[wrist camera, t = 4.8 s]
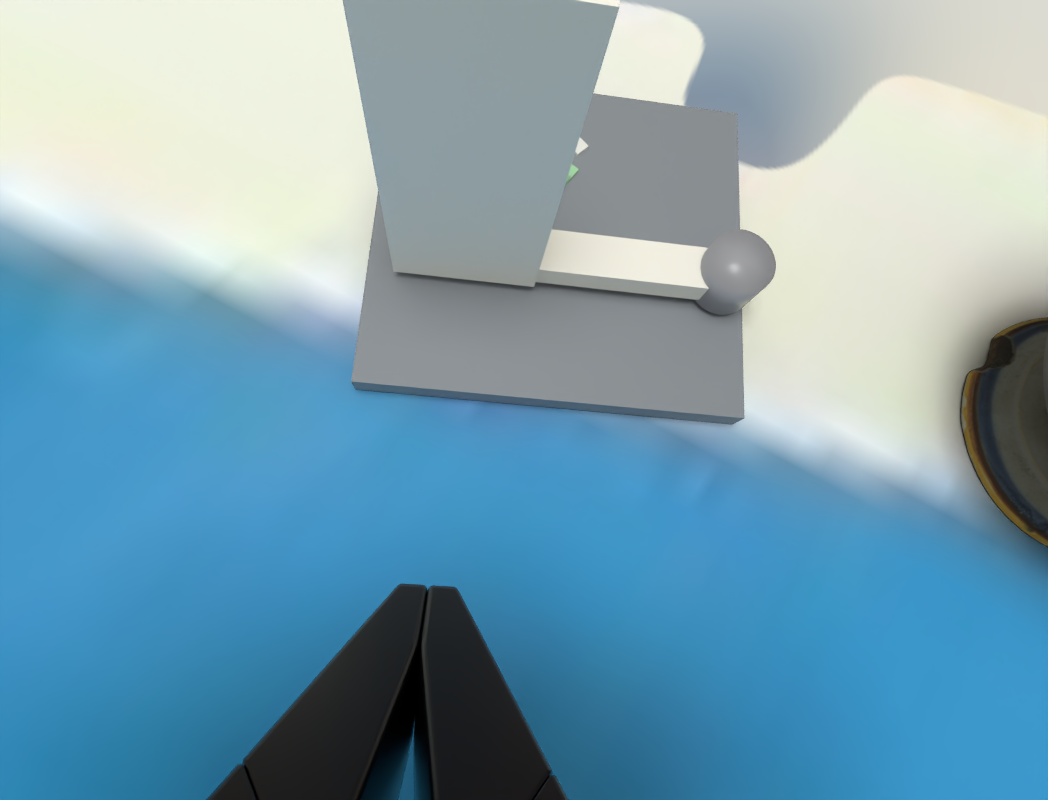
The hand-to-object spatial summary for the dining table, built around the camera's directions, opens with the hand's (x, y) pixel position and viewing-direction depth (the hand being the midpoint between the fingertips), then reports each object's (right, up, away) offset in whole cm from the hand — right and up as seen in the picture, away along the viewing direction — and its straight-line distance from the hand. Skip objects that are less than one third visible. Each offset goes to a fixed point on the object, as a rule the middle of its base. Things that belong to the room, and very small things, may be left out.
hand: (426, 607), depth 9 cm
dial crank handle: (+3, +8, +15) cm, 17 cm away
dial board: (+3, +9, +16) cm, 19 cm away
